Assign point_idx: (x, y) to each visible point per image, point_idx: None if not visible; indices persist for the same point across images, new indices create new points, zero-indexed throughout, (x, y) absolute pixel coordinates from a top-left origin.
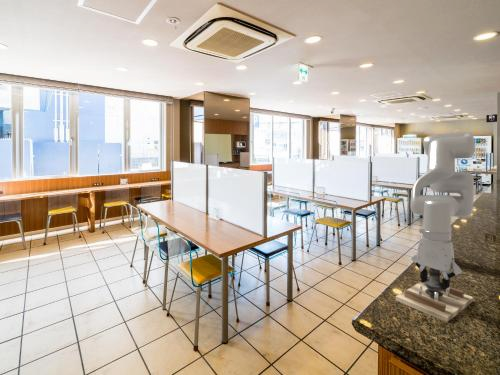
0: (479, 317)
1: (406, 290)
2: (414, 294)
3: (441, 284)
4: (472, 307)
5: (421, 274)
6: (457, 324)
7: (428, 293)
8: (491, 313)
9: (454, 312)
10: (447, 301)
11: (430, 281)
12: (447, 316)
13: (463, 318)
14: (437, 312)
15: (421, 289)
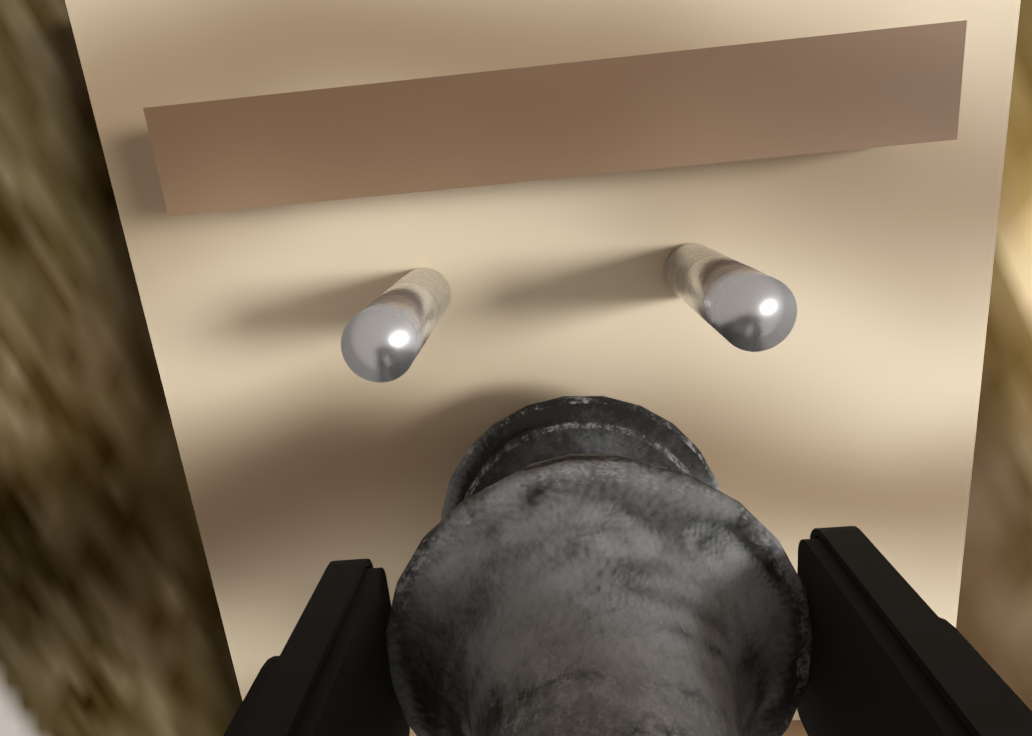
0: (43, 519)
1: (956, 100)
2: (745, 72)
3: (442, 697)
4: (222, 679)
5: (986, 678)
6: (27, 96)
7: (617, 417)
8: (52, 708)
9: (139, 281)
10: (380, 512)
11: (642, 596)
12: (87, 35)
13: (100, 331)
14: (242, 18)
15: (709, 292)
